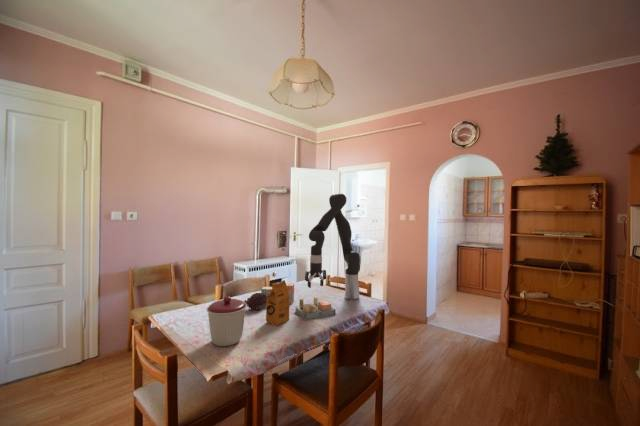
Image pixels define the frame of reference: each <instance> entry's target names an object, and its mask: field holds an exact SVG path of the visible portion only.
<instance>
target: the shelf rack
mask: <svg viewBox="0 0 640 426" xmlns="http://www.w3.org/2000/svg"><path fill="white" fill-rule="evenodd" d="M295 313H296V314H298V315H299V316H300V317H301V318H302V319H304V320H305V321H306V320H307V321H308V320H311V319H312V320H313V319H317V318H322V317H328V316H333V315H336V308H334V307H332V306H331V309H330V310H324V311H321V310H319V309H318V307H317V312H313V313H307V314H306V313H304V312H303V310H301V309H299V306H295Z"/></svg>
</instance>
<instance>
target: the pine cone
mask: <svg viewBox="0 0 640 426" xmlns="http://www.w3.org/2000/svg"><path fill="white" fill-rule="evenodd" d="M267 298H268V296H266V294H263V293H261V292H255V293H253V294H251V295H250V297H247V300H246V299H244V301H243V302H245V303H246V304H247V307H248V309H250V310H253V311H254V310H255V311H256V310H257V309H259V308H261V306H264V305H266V302H267Z"/></svg>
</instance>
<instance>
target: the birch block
mask: <svg viewBox="0 0 640 426" xmlns="http://www.w3.org/2000/svg"><path fill="white" fill-rule="evenodd" d="M298 303H299V304H298V305H299V306H298V308H299V309H301V310H302V311H303V312H304V313H306V314H307V313H313V312H317V308H318V307H317V306H315V305H314V303H305V304H304V299H303V298H300V299H299V302H298Z"/></svg>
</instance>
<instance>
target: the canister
mask: <svg viewBox="0 0 640 426" xmlns="http://www.w3.org/2000/svg"><path fill="white" fill-rule="evenodd" d="M247 308H248V306H247V304H246V303H245V302H244V301H243V300H242V299H235V298H232V297H231V296H229V295H227V296H225V297H223V299H221V300H217V301H214V302H212V303H211V304H209V305H207V307H206V309H205V310H206V312H207V313H208V315H207V316H208V323H209V332H210V338H211V342H212V344H214V346H217V347H230V346H233V345H235V344H237V343H238V342H240V340H241V339H242V337H243V332H244V325H245V324H244V323H245V316H246V309H247Z"/></svg>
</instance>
